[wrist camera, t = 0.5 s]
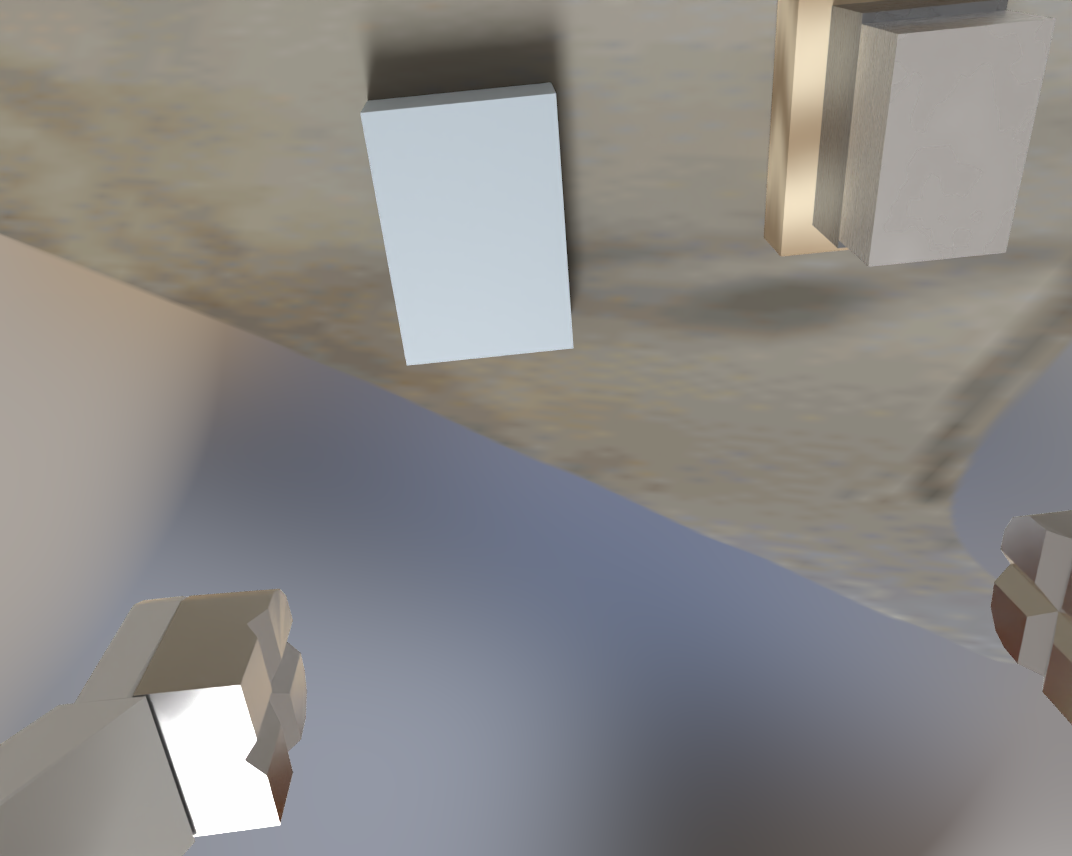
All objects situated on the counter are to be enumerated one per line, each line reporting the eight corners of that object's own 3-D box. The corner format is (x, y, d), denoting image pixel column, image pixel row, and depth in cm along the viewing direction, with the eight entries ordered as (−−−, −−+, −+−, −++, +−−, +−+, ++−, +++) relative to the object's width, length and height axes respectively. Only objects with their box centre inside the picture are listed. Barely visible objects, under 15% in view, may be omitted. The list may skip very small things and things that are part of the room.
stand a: (779, -33, 39) (801, -30, 37) (971, -52, 39) (1006, -50, 37) (763, 237, 46) (780, 256, 43) (927, 220, 46) (954, 238, 43)
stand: (367, 100, 41) (360, 112, 39) (551, 82, 41) (556, 93, 39) (410, 341, 48) (406, 365, 45) (567, 325, 48) (573, 348, 45)
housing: (831, 5, 37) (899, 22, 31) (965, -8, 37) (1058, 6, 32) (812, 224, 43) (867, 275, 37) (929, 212, 43) (1003, 261, 37)
